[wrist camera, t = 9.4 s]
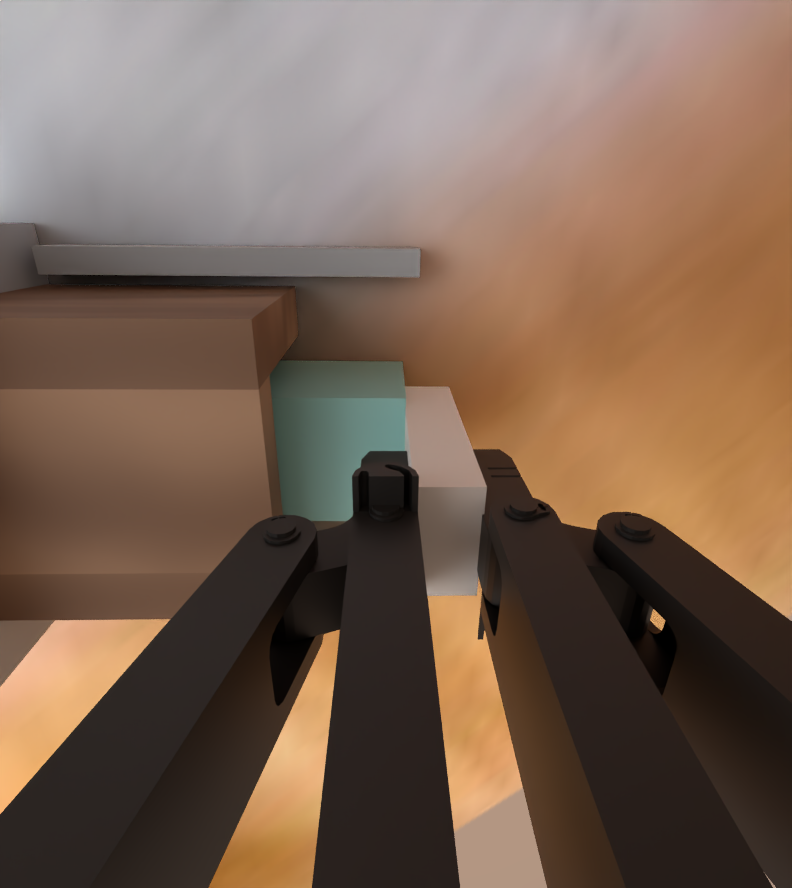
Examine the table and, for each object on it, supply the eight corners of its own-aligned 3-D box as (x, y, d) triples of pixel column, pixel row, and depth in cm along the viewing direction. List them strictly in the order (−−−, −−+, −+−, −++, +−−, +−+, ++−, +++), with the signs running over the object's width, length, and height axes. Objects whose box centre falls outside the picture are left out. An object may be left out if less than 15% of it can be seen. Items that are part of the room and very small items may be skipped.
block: (45, 284, 16) (-127, 317, 11) (295, 286, 16) (251, 319, 11) (104, 508, 20) (-4, 620, 14) (310, 507, 20) (282, 617, 14)
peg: (114, 358, 17) (41, 395, 14) (402, 361, 18) (406, 398, 14) (137, 462, 19) (77, 520, 15) (400, 463, 19) (403, 521, 16)
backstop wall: (-32, 222, 16) (-495, 225, 7) (418, 227, 16) (457, 234, 8) (67, 544, 20) (-145, 761, 12) (410, 542, 21) (428, 752, 13)
